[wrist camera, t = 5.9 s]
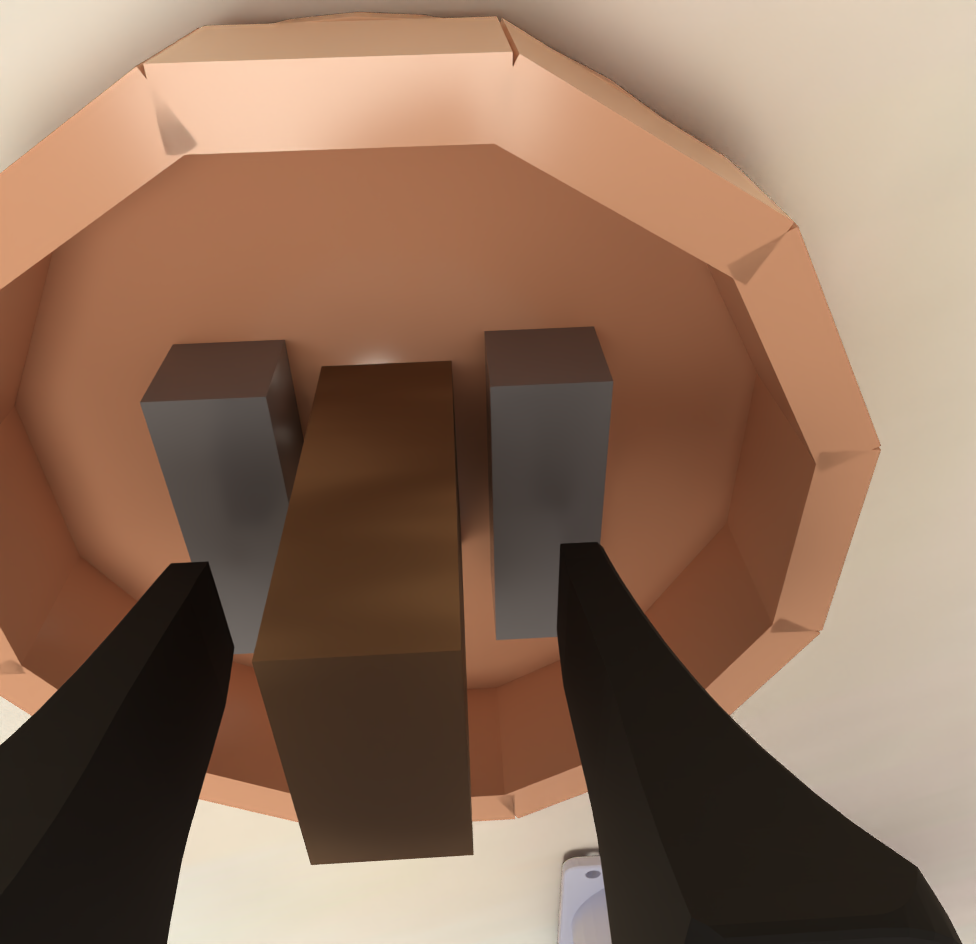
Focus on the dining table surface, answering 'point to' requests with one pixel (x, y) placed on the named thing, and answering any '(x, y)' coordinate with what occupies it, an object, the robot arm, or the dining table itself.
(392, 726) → the brown rectangular block
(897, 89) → the dining table surface
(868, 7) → the dining table surface
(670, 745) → the robot arm
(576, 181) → the faceted copper bowl
